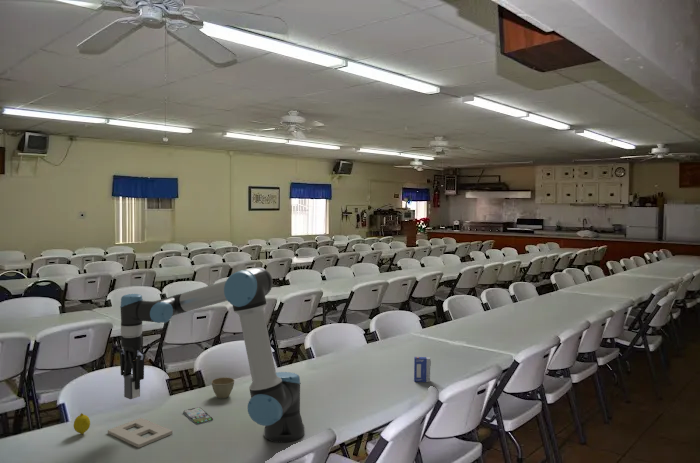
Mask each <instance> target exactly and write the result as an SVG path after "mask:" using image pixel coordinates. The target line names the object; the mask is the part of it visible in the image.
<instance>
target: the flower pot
mask: <svg viewBox="0 0 700 463" xmlns="http://www.w3.org/2000/svg"><path fill="white" fill-rule="evenodd" d="M234 385H235V379H234V378H231V377H226V376H225V377H218V378H214V379H212V380H211V387H212V390H213V393H214V394H215V397H217V398H218V399H227V398H228V397H229V396H230V395H231V393H232V390H233V388H234Z"/></svg>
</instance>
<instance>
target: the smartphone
mask: <svg viewBox="0 0 700 463" xmlns="http://www.w3.org/2000/svg"><path fill="white" fill-rule="evenodd" d="M183 415H185V416H186V417H187V418H188V419H189V420H190V421H192V423H193V424H194V425H201V424H202V425H203V424H205V423H210V422H212V421H213V420H214V418H213V417H212V416H210V414H208V413H207V411H205V410H204V409H203V408H201V406H199V407H198V406H197V407H193V408H188V409H185V410H183Z"/></svg>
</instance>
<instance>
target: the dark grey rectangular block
mask: <svg viewBox="0 0 700 463" xmlns="http://www.w3.org/2000/svg"><path fill="white" fill-rule="evenodd" d="M132 380H133V373H131V374H130V375H127V376H124V377H123V382H124V383H123V384H124V385H123V386H124V387H123V388H124V391H123V393H124V394H123V396H124V398H126V399H129V400H132V399H133V398H132ZM133 400H134V399H133Z"/></svg>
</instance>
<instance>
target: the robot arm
mask: <svg viewBox="0 0 700 463" xmlns="http://www.w3.org/2000/svg"><path fill="white" fill-rule="evenodd" d="M273 283H274V281H273V277H272V275H271V273H270V272H269V271H268V270H267V269H265V268H264V267H260V266H253V267H250V268H246V269H240V270H237V271H236V272H234V273H232V274H231V275H229V276H228V277H227V279H226V280H224V281H221V282H218V283H214V284H210V285H207V286H203V287H200V288H196V289H193V290H189V291H186V292H183V293H182V292H181V293H179V294H173V295H172V296H169V297H165V298H161V299H158V300H152V301H149V300H144V299H143V295H142V294H138V293H128V294H124V295H122V296H121V298H120V306H119V309H120V345H121V348H122V349H119V350H118V353H119V360H120V365H119V366H120V375H121V376H123V378H124V376H127V375H130V374H133V380H132V398H133V400H134V399H136V398H139V397H140V396H141V380H144V379H145V359H146V355H145V353H143V354H142V353H141V348H140V347H141V346H142V345H143V322H148V323H149V322H150V323H157V324H159V323H165V324H166V323H168V322H169V321H170V320H171V318H172V317H174V316H177V315H181V314H184V313H187V312H190V311H195V310H198V309H202V308H206V307H211V306H213V305H218V304H220V303H223V302H228V303H230V305H232V310H233V312H234V313H236V314H237V315H239V321H240V325H241V331H242V337H243V341H244V346H245V352H246V355H247V361H248V367H249V371H250V376H251V380H252V381H251V383H250V385H249V394H250V399H249V400H248V403H247V412H248V416H249V417H250V419H251V420H252V421H253V422H254V423H256V424H257V425H260V426H263V427H264V429H263V430H264V431H263V434H264V437H265V439H267V440H269V441H271V442H275V443H291V442H294V441H297V440H299V439H301V438H303V436H304V435H305V424H304V423H303V419H302V415H301V378H300V375H299V374H297V373H295V372H287V371H276V365H275V361H274V356H273V351H272V347H271V346H272V345H271V341H270V334H269V330H268V326H267V320H266V316H265V310H264V309H265V308H266V306H267V304H268V303H267V299H266V296H268V295H269V293H270V292H271V290H272V288H273Z"/></svg>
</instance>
